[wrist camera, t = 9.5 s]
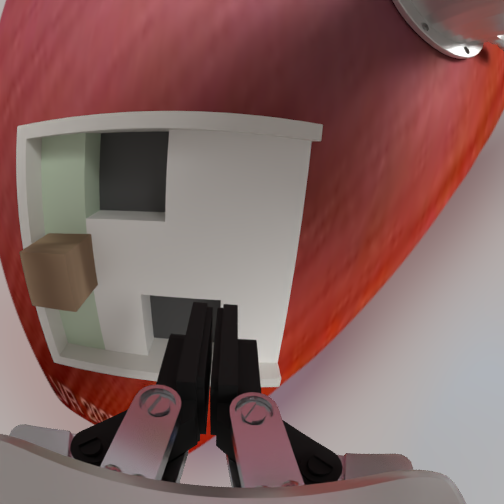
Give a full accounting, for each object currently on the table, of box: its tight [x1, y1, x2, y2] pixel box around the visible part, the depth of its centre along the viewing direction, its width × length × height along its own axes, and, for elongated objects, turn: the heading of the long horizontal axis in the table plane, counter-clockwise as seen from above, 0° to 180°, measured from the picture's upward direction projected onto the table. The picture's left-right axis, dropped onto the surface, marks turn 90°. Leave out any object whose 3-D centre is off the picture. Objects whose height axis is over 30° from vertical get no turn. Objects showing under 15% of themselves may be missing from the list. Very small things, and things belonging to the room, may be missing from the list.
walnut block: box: [20, 233, 98, 312], centre depth 17 cm, size 4×4×4 cm
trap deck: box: [16, 111, 323, 387], centre depth 20 cm, size 20×20×5 cm
